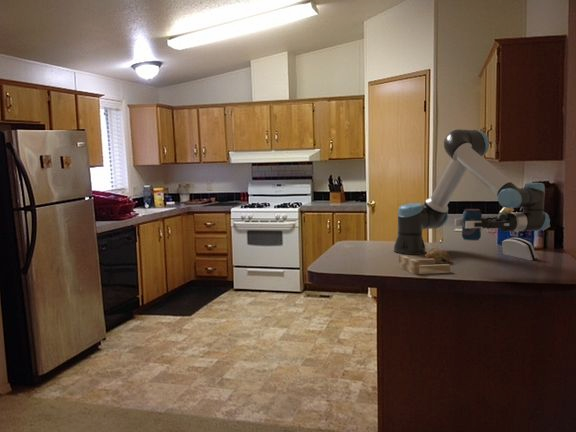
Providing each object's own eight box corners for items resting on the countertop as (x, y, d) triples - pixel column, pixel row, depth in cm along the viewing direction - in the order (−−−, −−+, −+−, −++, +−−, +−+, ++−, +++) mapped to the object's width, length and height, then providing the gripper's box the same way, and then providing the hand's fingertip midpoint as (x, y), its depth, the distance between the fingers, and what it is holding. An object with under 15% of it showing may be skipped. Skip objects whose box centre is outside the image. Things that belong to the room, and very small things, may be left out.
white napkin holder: (539, 259, 225) (534, 239, 223) (531, 263, 224) (526, 243, 222) (511, 253, 241) (506, 234, 239) (503, 257, 239) (499, 238, 237)
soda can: (460, 240, 196) (461, 209, 195) (464, 237, 202) (465, 208, 201) (478, 241, 192) (479, 210, 191) (482, 239, 198) (483, 209, 197)
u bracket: (398, 267, 209) (398, 255, 208) (432, 265, 212) (432, 253, 212) (414, 274, 195) (414, 261, 195) (450, 272, 199) (450, 260, 198)
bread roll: (433, 272, 216) (439, 257, 212) (418, 258, 224) (424, 243, 220) (449, 269, 221) (456, 255, 217) (435, 256, 229) (441, 242, 225)
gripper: (528, 234, 191) (474, 236, 186) (495, 228, 210) (446, 229, 205) (529, 215, 190) (475, 216, 185) (496, 210, 210) (447, 211, 204)
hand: (460, 223), depth 195 cm, fingers closed on soda can, 7 cm apart
